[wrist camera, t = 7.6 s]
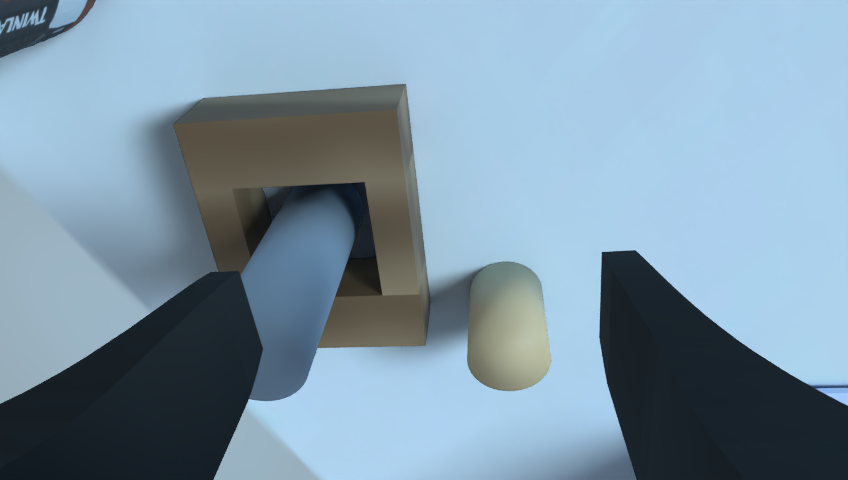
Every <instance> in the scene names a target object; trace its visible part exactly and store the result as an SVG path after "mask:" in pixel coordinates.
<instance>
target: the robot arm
mask: <svg viewBox="0 0 848 480" xmlns="http://www.w3.org/2000/svg"><path fill="white" fill-rule="evenodd" d="M599 338H600V344H601V350H602V356H603V362H604V368H605V374H606V379H607V384H608V387H609V391H610V394H611V397H612V401H613V404H614V407H615V411H616V414H617V417H618V421H619V424H620V427H621V430H622V434H623V437H624V440H625V443H626V446H627V450H628V453H629V456H630V459H631V463H632V466H633V469H634V472H635V476H636V479H637V480H848V388H813V387H811V386H810V385H808V384H806V383H804V382H802V381H801V380H799V379H797V378H795V377H794V376H792V375H790V374H789V373H787V372H785V371H784V370H782V369H780V368H779V367H777V366H776V365H774V364H773V363H771V362H769V361H768V360H766V359H765V358H763V357H762V356H760V355H759V354H757V353H755V352H754V351H752V350H751V349H749V348H748V347H747V346H745V345H744V344H742V343H741V342H739V341H738V340H737V339H735V338H734V337H733V336H731V335H730V334H729V333H727V332H726V331H725V330H724V329H722V328H721V327H720V326H718V325H717V324H716V323H714V322H713V321H712V320H711V319H709V318H708V317H707V316H706V315H704V314H703V313H702V312H701V311H700V310H699V309H698V308H696V307H695V306H694V305H693V304H692V303H691V302H690V301H688V300H687V299H686V298H685V297H684V296H683V295H682V294H681V293H679V292H678V291H677V290H676V289H675V288H674V287H673V286H672V285H671V284H670V283H669V282H668V281H667V280H666V279H665V278H664V277H663V276H661V275H660V274H659V273H658V272H657V271H656V270H655V269H654V268H653V267H652V266H651V265H650V264H649V263H648V262H647V261H646V260H645V259H644V258H643V257H642V256H641V255H640V254H639V253H638V252H637V251H635V250H634V251H614V252H602V268H601V302H600V335H599ZM262 352H263V347H262V344H261V340H260V337H259V334H258V331H257V327H256V324H255V321H254V318H253V314H252V311H251V308H250V305H249V301H248V298H247V295H246V292H245V288H244V285H243V282H242V279H241V275H240V272H239V271H226V272H211V273H209V274H207V275H205V276H204V277H202V278H200V279H199V280H197V281H196V282H194V283H193V284H191V285H190V286H188V287H187V288H185V289H184V290H182V291H181V292H180V293H178V294H177V295H175V296H174V297H173V298H171V299H170V300H168V301H167V302H166V303H164V304H163V305H161V306H160V307H159V308H157V309H156V310H154V311H153V312H152V313H150V314H149V315H147V316H146V317H145V318H143V319H142V320H140V321H139V322H138V323H136V324H135V325H134V326H132V327H131V328H129V329H128V330H126V331H125V332H123V333H122V334H120V335H119V336H117V337H116V338H114V339H113V340H111V341H110V342H108V343H106V344H105V345H104V346H102V347H101V348H99V349H97V350H96V351H94V352H93V353H91V354H90V355H88V356H87V357H86V358H84V359H82V360H80V361H79V362H77V363H76V364H74V365H72V366H70V367H69V368H67V369H66V370H64V371H62V372H60V373H59V374H57V375H55V376H53V377H51V378H50V379H48V380H46V381H44V382H42V383H41V384H39V385H37V386H35V387H33V388H31V389H30V390H28V391H26V392H24V393H22V394H20V395H18V396H16V397H14V398H12V399H9V400H7V401H5V402H4V403H1V404H0V480H213V479H214V477H215V475H216V472H217V470H218V468H219V466H220V463H221V461H222V459H223V457H224V454H225V452H226V450H227V447H228V445H229V443H230V441H231V438H232V436H233V434H234V432H235V430H236V427H237V425H238V423H239V420H240V418H241V416H242V413H243V411H244V409H245V407H246V404H247V402H248V399H249V397H250V395H251V392H252V389H253V385H254V382H255V379H256V375H257V372H258V368H259V364H260V360H261V356H262Z"/></svg>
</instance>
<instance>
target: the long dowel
mask: <svg viewBox="0 0 848 480" xmlns="http://www.w3.org/2000/svg"><path fill="white" fill-rule="evenodd" d="M362 217H363V204H362V200H361V197H360V195H359V193H358V192H357V190H356V189H355V188H354V187H353V186H352V185H351V184H350V183H338V184H318V185H299V186H293V188H292V189H291V191H290V193H289V194H288V196H287V198H286V199H285V201H284V203H283V205H282V206H281V208H280V210H279V211H278V213H277V215H276V216H275V218H274V220H273V221H272V223H271V225H270V227H269V228H268V230H267V232H266V233H265V235H264V237H263V238H262V240H261V242H260V243H259V245H258V247H257V249H256V250H255V252H254V254H253V255H252V257H251V259H250V260H249V262H248V264H247V266H246V267H245V269H244V271H243V272H242V274H241V279H242V282H243V285H244V288H245V292H246V295H247V298H248V301H249V305H250V308H251V311H252V314H253V318H254V321H255V324H256V327H257V331H258V334H259V337H260V340H261V344H262V347H263V352H262V356H261V360H260V364H259V368H258V372H257V375H256V379H255V382H254V385H253V389H252V392H251V395H250V397H249V399H252V400H258V401H274V400H280V399H283V398H286V397H288V396H291V395H292V394H294V393H296V392H297V391H298V390H299V389H300V388H301V387H302V386H303V385H304V383H305V381H306V379H307V376H308V374H309V371H310V368H311V365H312V362H313V359H314V356H315V353H316V350H317V347H318V345H319V342H320V339H321V336H322V333H323V330H324V327H325V324H326V321H327V319H328V316H329V313H330V310H331V307H332V304H333V301H334V298H335V295H336V292H337V290H338V287H339V284H340V281H341V278H342V275H343V272H344V269H345V266H346V264H347V261H348V258H349V255H350V252H351V249H352V246H353V243H354V240H355V237H356V235H357V232H358V229H359V226H360V223H361V220H362Z"/></svg>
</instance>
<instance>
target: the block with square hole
mask: <svg viewBox="0 0 848 480" xmlns="http://www.w3.org/2000/svg"><path fill="white" fill-rule="evenodd" d="M173 125H174V128H175V132H176V135H177V138H178V141H179V145H180V148H181V151H182V154H183V158H184V161H185V164H186V167H187V171H188V174H189V177H190V180H191V184H192V187H193V190H194V193H195V197H196V200H197V203H198V206H199V210H200V213H201V216H202V219H203V223H204V226H205V229H206V232H207V236H208V239H209V242H210V245H211V249H212V252H213V255H214V258H215V262H216V265H217V268H218V271H219V272H226V271H239V272H240V275H241V274H242V272H243V271H244V269H245V267H246V266H247V264H248V262H249V260H250V259H251V257H252V255H253V254H254V252H255V250H256V249H257V247H258V245H259V243H260V242H261V240H262V238H263V237H264V235H265V233H266V232H267V230H268V228H269V227H270V225H271V219H270V215H269V211H268V207H267V203H266V199H265V195H264V191H263V187H280V186H299V185H318V184H338V183H357V182H365V187H366V193H367V200H368V206H369V213H370V219H371V225H372V232H373V238H374V244H375V251H376V257H377V258H366V259H348V261H347V264H346V266H345V269H344V272H343V275H342V278H341V281H340V284H339V287H338V290H337V292H336V295H335V298H334V301H333V304H332V307H331V310H330V313H329V316H328V319H327V321H326V324H325V327H324V330H323V333H322V336H321V339H320V342H319V345H318V347H317V348H336V347H384V346H425V345H426V337H427V329H428V321H429V313H430V296H429V287H428V278H427V269H426V260H425V251H424V242H423V233H422V224H421V215H420V206H419V198H418V189H417V180H416V171H415V162H414V153H413V144H412V135H411V126H410V117H409V108H408V99H407V90H406V84H400V85H386V86H371V87H357V88H343V89H329V90H314V91H300V92H286V93H272V94H257V95H243V96H229V97H215V98H203V99H202V100H201V101H200V102H199V103H198V104H196V105H195V106H194V107H193V108H192V109H191V110H189V111H188V112H187V113H186V114H185V115H183V116H182V117H181V118H180V119H179V120H178V121H176V122H175V123H174V124H173Z"/></svg>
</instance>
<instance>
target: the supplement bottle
mask: <svg viewBox="0 0 848 480" xmlns="http://www.w3.org/2000/svg"><path fill="white" fill-rule="evenodd" d="M95 1H96V0H0V57H3V56H6V55H8V54H10V53H13V52H16V51H19V50H21V49H23V48H27V47H29V46H33V45H35V44H37V43H39V42H42V41H45V40H47V39H49V38H52V37H54V36H57V35H58V34H61V33H63V32H65V31H67V30H69V29H70V28H72V27H73V26H75V25H76V24H78V23H79V22H80V21H81V20H82V19H83V18H84V17H85V16H86V15H87V13H88V12H89V10H90V9H91V8H92V7H93V5H94V3H95Z"/></svg>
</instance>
